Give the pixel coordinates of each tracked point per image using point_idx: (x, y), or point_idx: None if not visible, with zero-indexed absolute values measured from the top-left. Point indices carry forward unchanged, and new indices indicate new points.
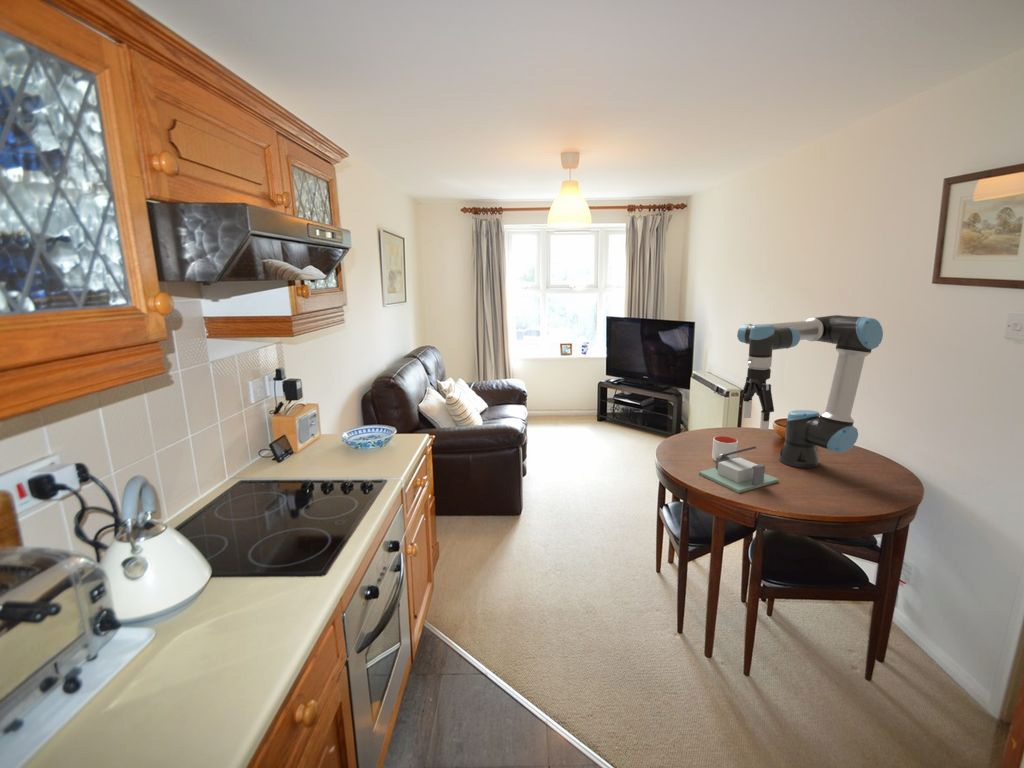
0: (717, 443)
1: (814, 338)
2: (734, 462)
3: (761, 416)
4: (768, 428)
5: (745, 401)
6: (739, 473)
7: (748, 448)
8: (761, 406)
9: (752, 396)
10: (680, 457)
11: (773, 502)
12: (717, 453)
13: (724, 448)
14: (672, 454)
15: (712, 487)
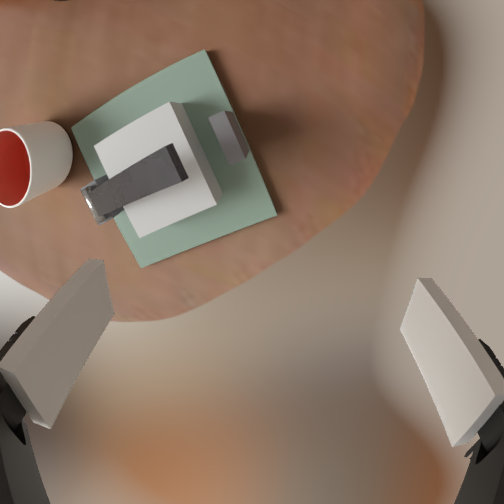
0: (26, 201)
1: None
2: None
3: (446, 408)
4: (434, 282)
5: (33, 416)
6: (215, 196)
7: (176, 183)
8: (460, 490)
9: (3, 453)
10: (44, 263)
11: (347, 145)
12: (48, 189)
13: (43, 179)
14: (32, 273)
15: (232, 265)
